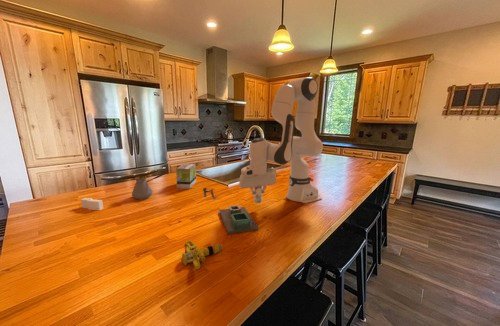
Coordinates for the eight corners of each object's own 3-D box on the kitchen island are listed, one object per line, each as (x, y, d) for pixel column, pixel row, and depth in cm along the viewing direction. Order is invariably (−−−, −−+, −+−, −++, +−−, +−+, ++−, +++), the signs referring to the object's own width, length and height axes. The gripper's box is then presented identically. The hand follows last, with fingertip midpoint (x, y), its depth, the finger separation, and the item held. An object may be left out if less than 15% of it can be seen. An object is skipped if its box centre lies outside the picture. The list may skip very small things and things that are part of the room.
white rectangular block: (108, 209, 110) (107, 199, 109) (81, 216, 102) (80, 206, 101) (102, 201, 120) (101, 192, 119) (77, 207, 113) (76, 197, 111)
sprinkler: (231, 250, 71) (187, 265, 63) (231, 261, 71) (188, 278, 63) (210, 231, 87) (173, 241, 79) (210, 240, 88) (174, 251, 79)
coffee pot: (130, 201, 120) (127, 177, 116) (133, 195, 130) (131, 172, 127) (169, 197, 127) (167, 174, 124) (169, 191, 138) (168, 169, 134)
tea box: (190, 189, 143) (189, 168, 140) (176, 188, 143) (175, 168, 140) (196, 182, 158) (195, 163, 154) (183, 182, 158) (182, 163, 154)
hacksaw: (203, 189, 144) (203, 187, 144) (218, 188, 147) (218, 186, 146) (204, 203, 121) (204, 200, 121) (222, 201, 124) (222, 199, 123)
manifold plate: (244, 209, 113) (244, 201, 112) (258, 229, 93) (258, 220, 92) (219, 212, 109) (219, 204, 108) (228, 234, 88) (228, 225, 87)
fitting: (260, 199, 114) (260, 182, 112) (262, 202, 111) (262, 185, 108) (253, 200, 113) (253, 183, 111) (255, 203, 109) (255, 186, 107)
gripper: (273, 166, 113) (273, 189, 117) (238, 169, 107) (238, 193, 110) (278, 168, 108) (277, 193, 111) (241, 172, 101) (241, 198, 105)
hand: (258, 193), depth 111 cm, fingers closed on fitting, 4 cm apart
